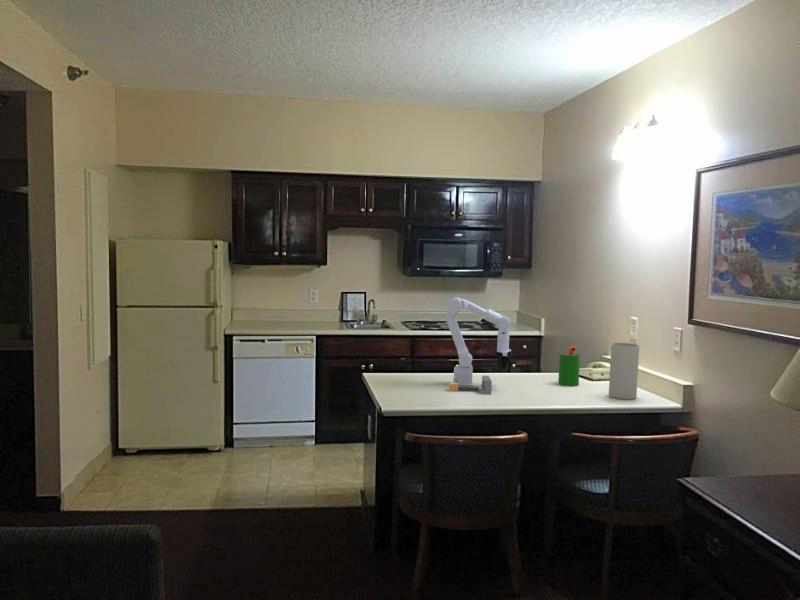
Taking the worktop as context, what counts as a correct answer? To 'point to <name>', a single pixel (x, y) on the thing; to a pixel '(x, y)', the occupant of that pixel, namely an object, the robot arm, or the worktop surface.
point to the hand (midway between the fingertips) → (502, 367)
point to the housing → (486, 384)
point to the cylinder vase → (623, 371)
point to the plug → (462, 388)
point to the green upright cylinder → (569, 368)
